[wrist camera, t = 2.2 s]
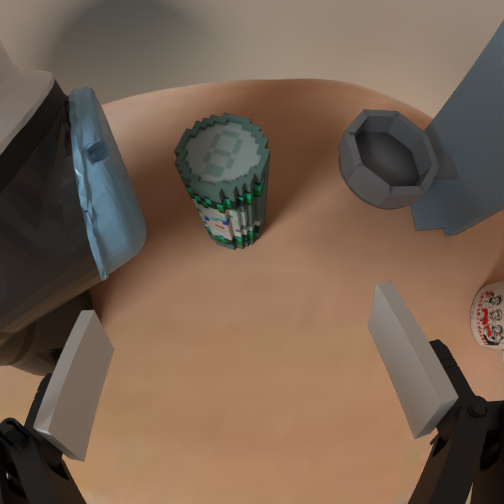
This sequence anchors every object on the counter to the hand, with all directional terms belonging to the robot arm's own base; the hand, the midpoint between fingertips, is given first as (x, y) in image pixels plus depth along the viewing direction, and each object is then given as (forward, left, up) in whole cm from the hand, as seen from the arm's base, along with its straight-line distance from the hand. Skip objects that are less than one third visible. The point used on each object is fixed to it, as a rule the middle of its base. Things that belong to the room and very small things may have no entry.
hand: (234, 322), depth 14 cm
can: (0, +11, -19) cm, 22 cm away
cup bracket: (+20, +14, -19) cm, 30 cm away
